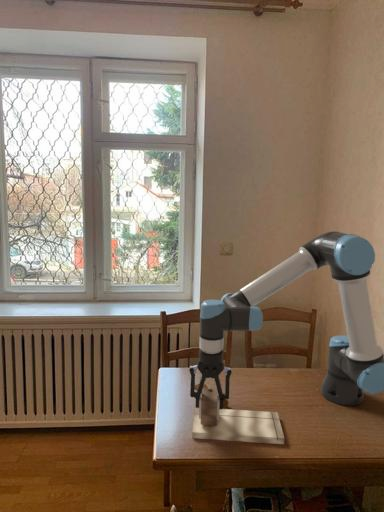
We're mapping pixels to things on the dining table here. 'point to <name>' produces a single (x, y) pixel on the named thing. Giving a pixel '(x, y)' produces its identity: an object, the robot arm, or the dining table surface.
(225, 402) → the primitive tool
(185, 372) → the dining table surface
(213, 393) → the beige drawer
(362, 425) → the dining table surface
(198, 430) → the board
